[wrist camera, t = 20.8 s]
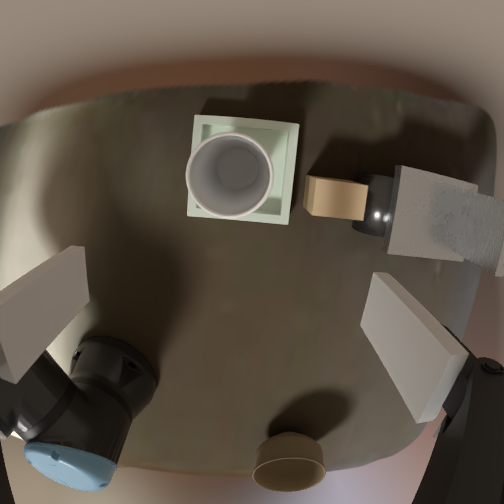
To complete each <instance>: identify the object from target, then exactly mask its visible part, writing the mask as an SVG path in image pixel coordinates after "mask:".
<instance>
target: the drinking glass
mask: <svg viewBox="0 0 504 504" xmlns="http://www.w3.org/2000/svg"><path fill="white" fill-rule="evenodd" d="M273 180H274V169H273V164H272V161H271V158H270V156H269V154H268V153H267V151H266V150H265V148H264V147H263V146H262V145H261V144H260V143H259V142H258V141H257V140H255V139H254V138H252V137H250V136H248V135H246V134H243V133H238V132H222V133H218V134H214V135H212V136H210V137H208V138H206V139H205V140H203V141H202V142H201V143H200V144H199V145H198V146H197V147H196V148H195V149H194V151H193V152H192V154H191V156H190V158H189V160H188V163H187V168H186V183H187V187H188V190H189V193H190V195H191V197H192V198H193V200H194V201H195V203H196V204H197V205H198V206H199V207H200V208H201V209H203V210H204V211H206V212H207V213H209V214H211V215H213V216H216V217H220V218H226V219H233V218H240V217H243V216H246V215H248V214H250V213H252V212H254V211H255V210H257V209H258V208H259V207H260V206H261V205H262V204H263V203H264V202H265V200H266V199H267V197H268V196H269V194H270V192H271V189H272V186H273Z"/></svg>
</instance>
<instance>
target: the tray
mask: <svg viewBox="0 0 504 504" xmlns="http://www.w3.org/2000/svg"><path fill="white" fill-rule="evenodd" d="M298 131H299V124H295V123H287V122H279V121H271V120H261V119H251V118H239V117H225V116H208V115H195V118H194V128H193V139H192V150H191V154H192V152H193V151H194V149H195V148H196V147H197V146H198V145H199V144H200V143H201V142H202V141H203V140H205V139H206V138H208V137H210V136H212V135H214V134H218V133H222V132H238V133H243V134H246V135H248V136H250V137H252V138H254V139H255V140H257V141H258V142H259V143H260V144H261V145H262V146H263V147H264V148H265V150H266V151H267V153H268V154H269V156H270V158H271V161H272V164H273V169H274V180H273V186H272V189H271V192H270V194H269V196H268V197H267V199H266V200H265V202H264V203H263V204H262V205H261V206H260V207H259V208H258V209H257V210H255V211H254V212H252V213H250V214H248V215H246V216H243V217H240V218H233V219H231V220H243V221H254V222H265V223H275V224H286V225H288V221H289V213H290V204H291V196H292V187H293V178H294V169H295V160H296V151H297V141H298ZM187 216H194V217H207V218H219V219H226V218H220V217H216V216H213V215H211V214H209V213H207V212H206V211H204V210H203V209H201V208H200V207H199V206H198V205H197V204H196V203H195V201H194V200H193V198H192V197H191V195H190V193H189V191H188V208H187Z"/></svg>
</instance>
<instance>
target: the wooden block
mask: <svg viewBox="0 0 504 504" xmlns="http://www.w3.org/2000/svg"><path fill="white" fill-rule="evenodd" d="M367 191H368V186H367V185H364V184H361V183H357V182H354V181H349V180H342V179H335V178H327V177H320V176H312V175H306V183H305V192H304V201H303V207H304V208H305V209H306V210H307V211H308V212H309V213H310V214H311V215H316V216H325V217H334V218H343V219H352V220H361V221H363V218H364V212H365V205H366V198H367Z"/></svg>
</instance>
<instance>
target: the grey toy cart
mask: <svg viewBox="0 0 504 504" xmlns="http://www.w3.org/2000/svg"><path fill="white" fill-rule="evenodd" d="M358 183H361V184H364V185H367V186H368V191H367V198H366V205H365V212H364V218H363V221H361V220H353V223H352V228H353V229H355V230H357V231H359V232H362V233H366V234H369V235H374V236H379V237H384V241H383V246H382V250H383V251H384V252H386V253H387V254H395V255H404V256H414V257H424V258H434V259H443V260H453V261H462V262H463V260H464V258H466V259H467V260H469V261H471V262H472V263H474V264H476V265H478V266H479V267H481V268H483V269H484V270H486V271H487V272H489V273H491V274H492V275H494V276H502V277H503V275H504V200H501V199H497V198H494V197H490V196H487V195H483V194H479V193H477V190H478V185H475V184H472V183H468V182H465V181H461V180H458V179H454V178H451V177H447V176H443V175H439V174H435V173H431V172H427V171H423V170H419V169H415V168H411V167H406V166H402V165H396V166H395V174H394V178H393V177H388V176H383V175H378V174H372V173H367V172H361V171H360V174H359V182H358Z"/></svg>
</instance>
